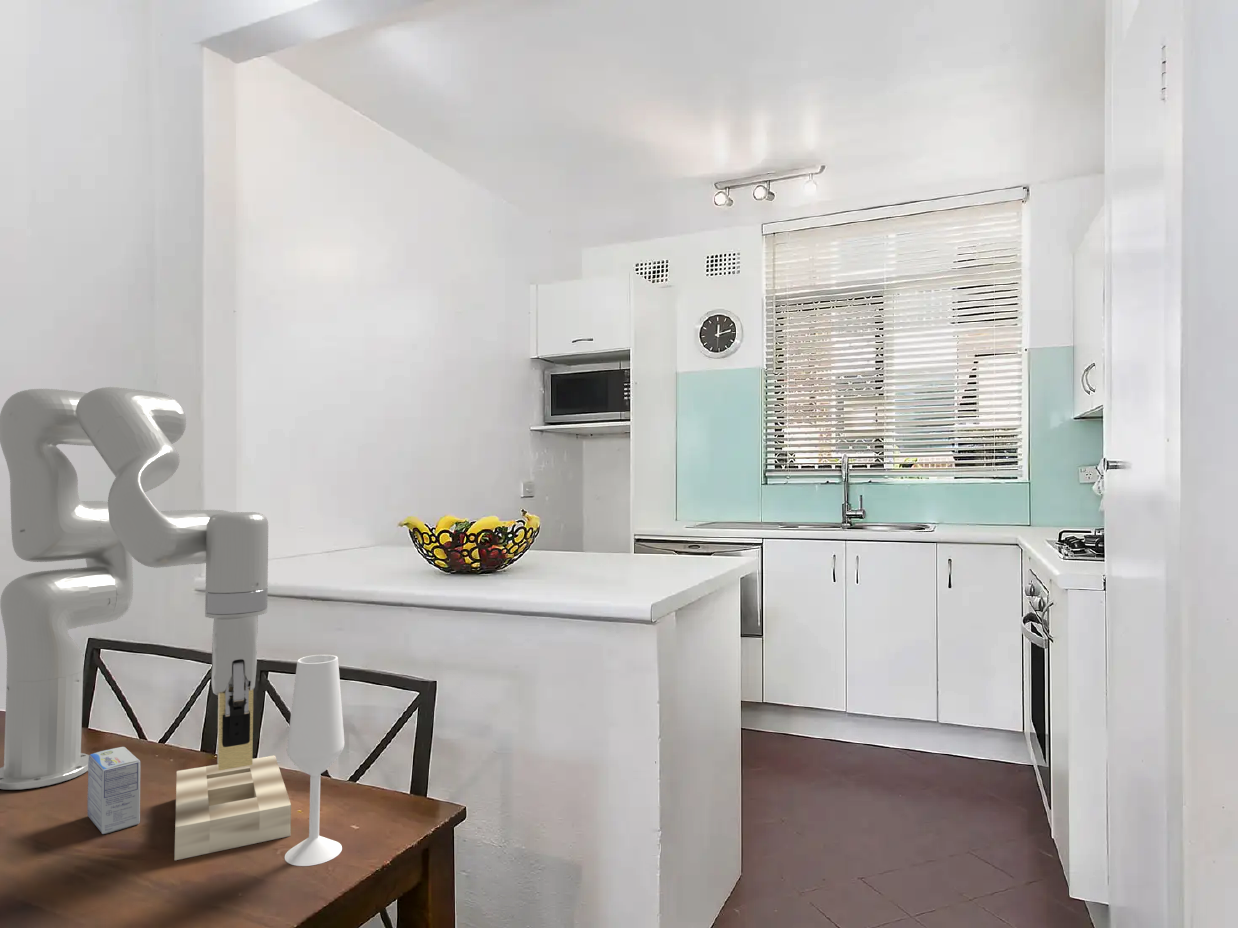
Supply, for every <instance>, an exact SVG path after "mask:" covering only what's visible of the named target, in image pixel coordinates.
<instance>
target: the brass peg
mask: <svg viewBox="0 0 1238 928" xmlns="http://www.w3.org/2000/svg"><path fill="white" fill-rule="evenodd" d="M244 690H245V685H244ZM229 691H233V687H229ZM217 698H218V699H217V749H216V750H217V757H216V758H217V759H216V762H217V765H218V770H225V769H231V768H236V767H242V766H248V765H252V759H254V758H253V755H254V753H253V752H254V751H253V745H254V744H253V743H254V742H253V740H254V739H253V738H254V735H253V734H254V688H253V689H252V690H251V691H249V712H250V741H249V743H247V744H242V745H236V746H230V747H223V744H222V733H223V716H225V691H224V692H219V695H217ZM231 698H233V696H230V700H231Z"/></svg>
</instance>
